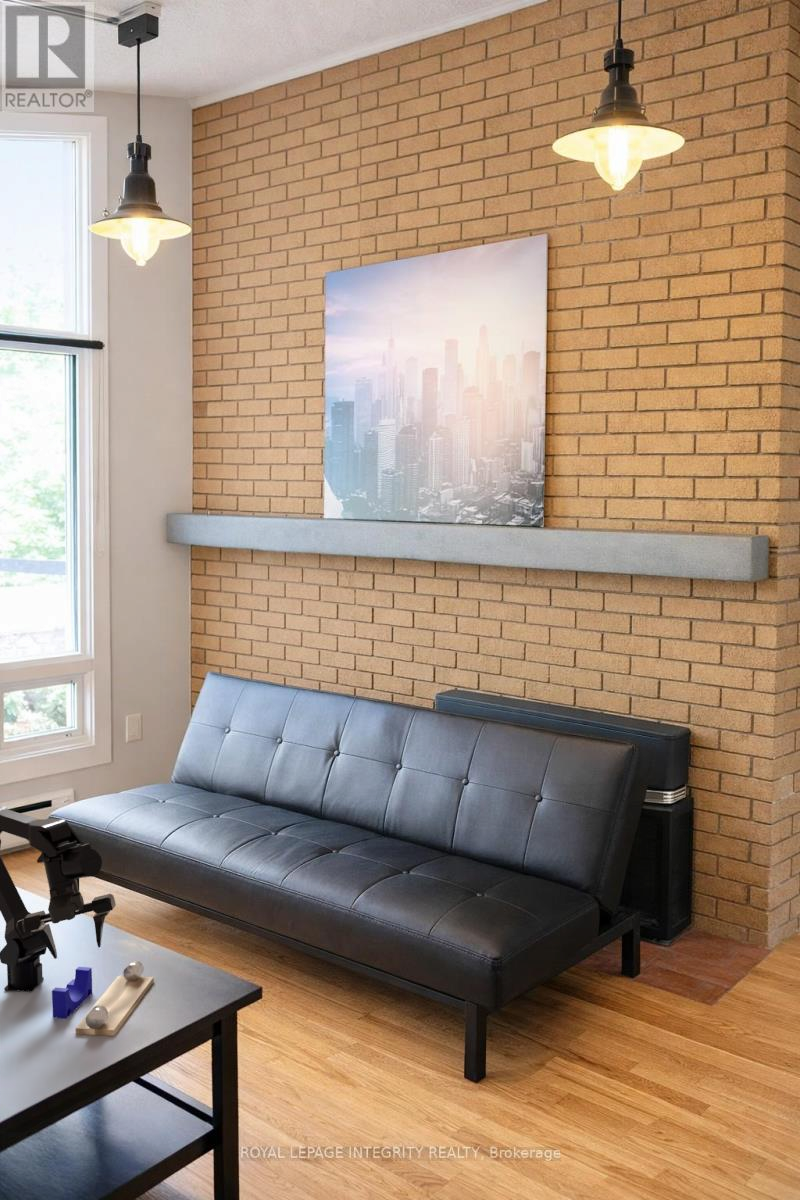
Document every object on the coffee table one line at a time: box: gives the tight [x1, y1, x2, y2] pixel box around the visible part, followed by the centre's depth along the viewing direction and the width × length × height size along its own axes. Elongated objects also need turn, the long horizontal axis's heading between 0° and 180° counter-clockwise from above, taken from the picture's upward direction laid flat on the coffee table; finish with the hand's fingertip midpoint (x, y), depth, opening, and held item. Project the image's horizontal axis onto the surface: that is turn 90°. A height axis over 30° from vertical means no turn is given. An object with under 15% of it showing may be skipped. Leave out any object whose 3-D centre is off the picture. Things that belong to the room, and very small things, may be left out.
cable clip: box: [51, 966, 93, 1019], centre depth 240 cm, size 12×4×6 cm, turn 169°
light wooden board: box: [74, 975, 155, 1037], centre depth 239 cm, size 8×25×1 cm, turn 174°
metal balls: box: [85, 960, 145, 1029], centre depth 239 cm, size 4×25×4 cm, turn 174°
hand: (77, 952), depth 239 cm, fingers open, 9 cm apart
